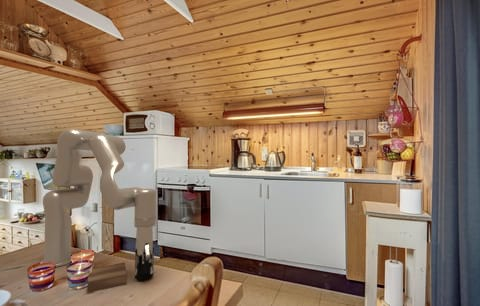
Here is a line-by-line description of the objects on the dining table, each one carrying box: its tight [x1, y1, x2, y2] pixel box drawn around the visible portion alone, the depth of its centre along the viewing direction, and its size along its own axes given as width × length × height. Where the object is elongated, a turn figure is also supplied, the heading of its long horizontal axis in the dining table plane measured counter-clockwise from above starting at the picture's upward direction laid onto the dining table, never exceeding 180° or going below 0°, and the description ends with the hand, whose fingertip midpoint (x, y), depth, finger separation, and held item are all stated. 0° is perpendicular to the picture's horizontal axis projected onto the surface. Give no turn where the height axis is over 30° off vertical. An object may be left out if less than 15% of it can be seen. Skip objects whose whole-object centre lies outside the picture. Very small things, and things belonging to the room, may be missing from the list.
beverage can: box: [134, 247, 155, 283], centre depth 92 cm, size 7×7×12 cm
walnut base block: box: [86, 262, 128, 294], centre depth 90 cm, size 12×12×4 cm
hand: (144, 269), depth 92 cm, fingers closed on beverage can, 6 cm apart
